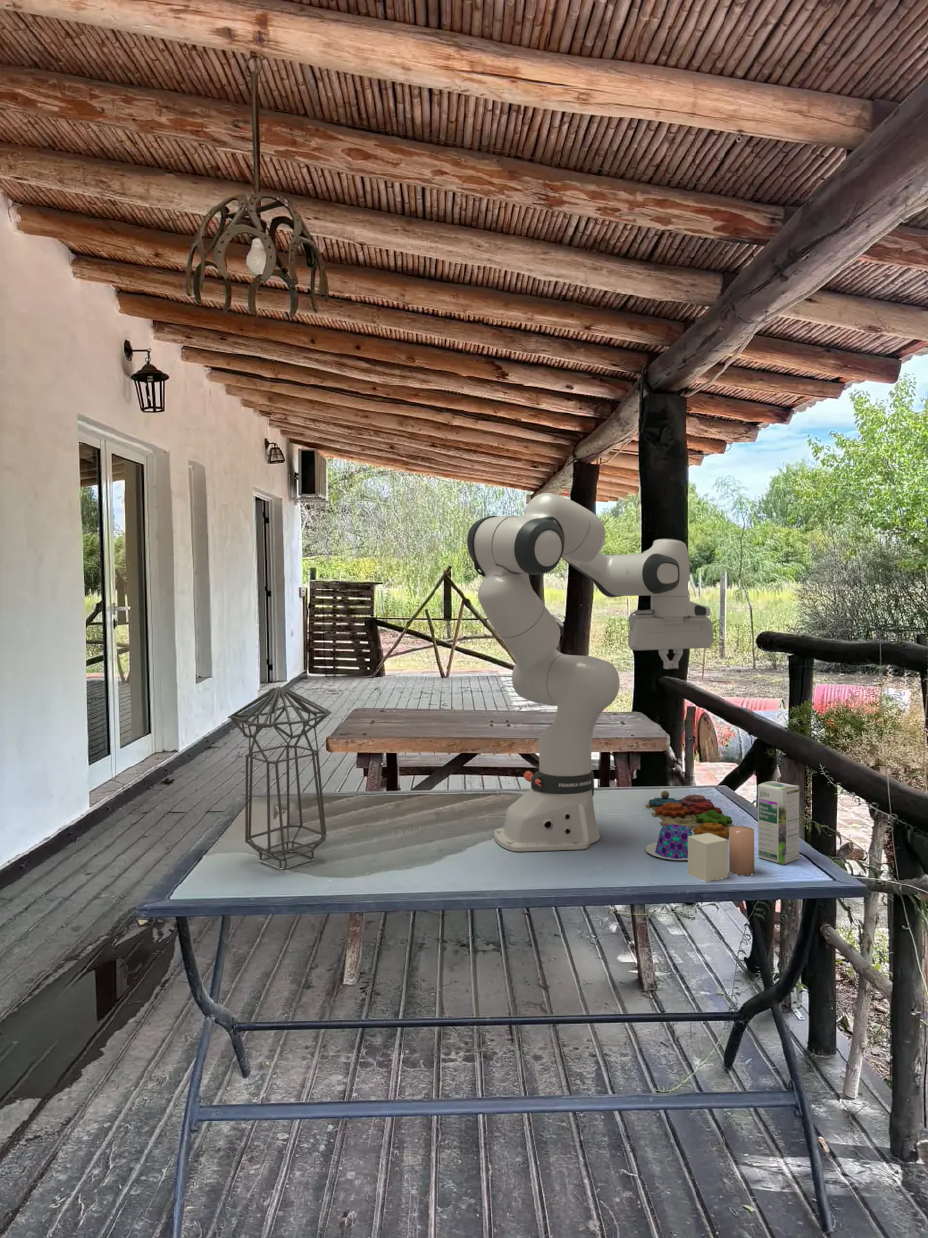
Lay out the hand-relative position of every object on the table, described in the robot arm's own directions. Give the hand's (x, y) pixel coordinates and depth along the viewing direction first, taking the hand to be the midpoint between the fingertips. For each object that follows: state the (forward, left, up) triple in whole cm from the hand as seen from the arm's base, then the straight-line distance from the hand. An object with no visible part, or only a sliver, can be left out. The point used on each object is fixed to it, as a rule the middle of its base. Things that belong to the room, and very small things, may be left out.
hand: (670, 668), depth 192 cm
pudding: (-13, -26, -35) cm, 45 cm away
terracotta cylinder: (-7, -40, -34) cm, 53 cm away
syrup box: (+4, -35, -34) cm, 49 cm away
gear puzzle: (+2, -6, -35) cm, 35 cm away
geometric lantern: (-89, -9, -34) cm, 96 cm away
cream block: (-14, -40, -34) cm, 54 cm away
